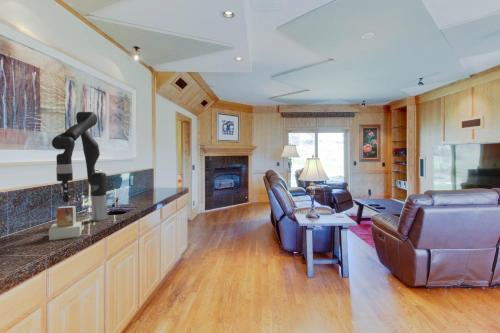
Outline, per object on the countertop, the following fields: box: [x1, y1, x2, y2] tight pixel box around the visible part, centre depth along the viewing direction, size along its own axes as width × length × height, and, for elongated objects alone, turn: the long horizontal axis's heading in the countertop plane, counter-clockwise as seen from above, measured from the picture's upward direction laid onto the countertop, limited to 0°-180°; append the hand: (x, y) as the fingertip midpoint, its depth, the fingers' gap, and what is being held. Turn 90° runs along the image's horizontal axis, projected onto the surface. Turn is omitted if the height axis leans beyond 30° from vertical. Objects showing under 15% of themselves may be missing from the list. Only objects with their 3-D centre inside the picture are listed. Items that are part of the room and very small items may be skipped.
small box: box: [56, 205, 77, 227], centre depth 155 cm, size 8×6×10 cm
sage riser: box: [48, 220, 83, 241], centre depth 155 cm, size 14×14×6 cm
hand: (65, 200), depth 154 cm, fingers open, 8 cm apart
